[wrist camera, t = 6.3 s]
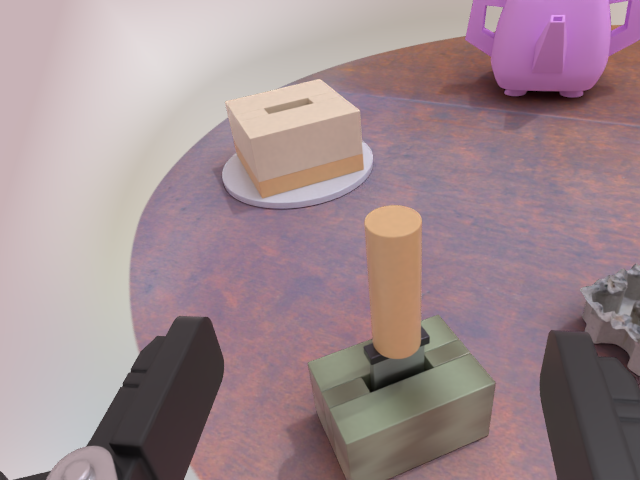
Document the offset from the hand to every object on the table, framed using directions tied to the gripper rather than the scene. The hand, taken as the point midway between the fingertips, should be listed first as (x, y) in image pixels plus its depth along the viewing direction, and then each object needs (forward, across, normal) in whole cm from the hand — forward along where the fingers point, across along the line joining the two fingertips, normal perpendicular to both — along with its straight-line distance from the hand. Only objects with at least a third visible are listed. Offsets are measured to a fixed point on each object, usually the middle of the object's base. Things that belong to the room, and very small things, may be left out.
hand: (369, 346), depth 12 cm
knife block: (+11, 0, +20) cm, 22 cm away
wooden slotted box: (+45, +14, +19) cm, 51 cm away
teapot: (+69, -18, +20) cm, 74 cm away
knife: (+11, 0, +20) cm, 22 cm away
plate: (+45, +14, +19) cm, 51 cm away
